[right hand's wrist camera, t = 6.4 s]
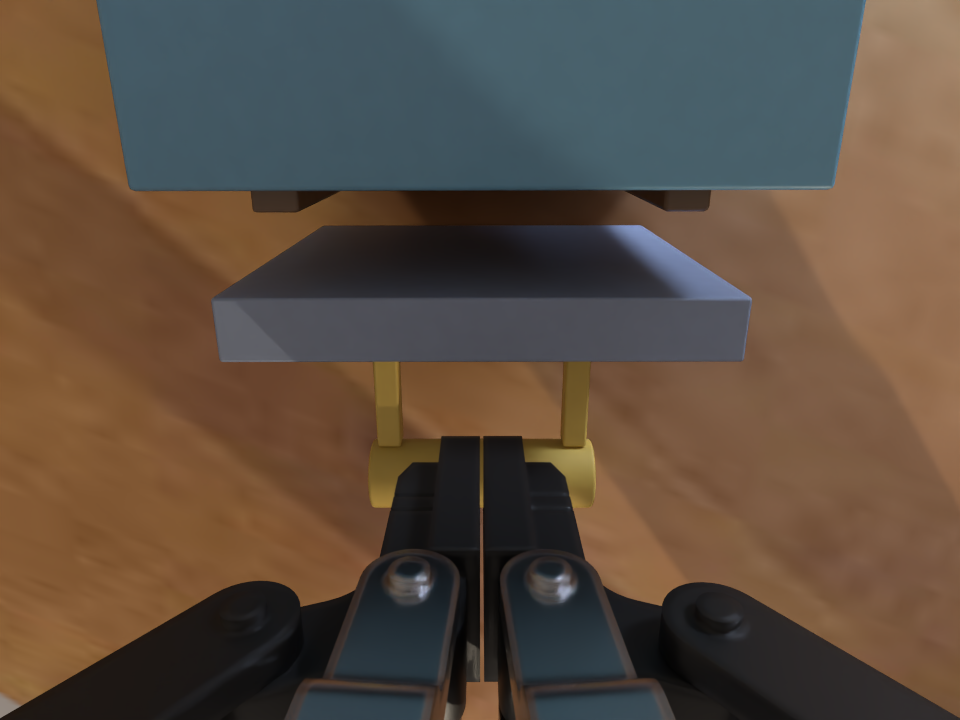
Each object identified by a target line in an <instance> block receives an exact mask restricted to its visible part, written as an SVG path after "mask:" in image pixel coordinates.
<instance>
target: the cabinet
mask: <svg viewBox="0 0 960 720" xmlns="http://www.w3.org/2000/svg"><path fill="white" fill-rule="evenodd" d="M96 1H97V7H98V13H99V18H100V24H101V30H102V36H103V41H104V47H105V53H106V58H107V64H108V70H109V76H110V81H111V87H112V93H113V98H114V104H115V110H116V116H117V121H118V127H119V133H120V138H121V144H122V150H123V156H124V161H125V167H126V173H127V178H128V184H129V187H130V189H132V190H134V191H446V190H828V189H830V188H833V186H834V183H835V177H836V171H837V165H838V159H839V154H840V148H841V142H842V136H843V130H844V125H845V119H846V113H847V107H848V101H849V95H850V90H851V84H852V78H853V72H854V66H855V60H856V55H857V49H858V43H859V37H860V31H861V25H862V20H863V14H864V8H865V2H866V0H96Z"/></svg>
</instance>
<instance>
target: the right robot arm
mask: <svg viewBox="0 0 960 720" xmlns="http://www.w3.org/2000/svg"><path fill="white" fill-rule="evenodd" d="M483 572H484V682H498V696H499V718H498V720H960V718H958V717H957V716H955V715H953V714H952V713H950V712H948V711H946V710H945V709H943V708H941V707H939V706H938V705H936V704H934V703H933V702H931V701H929V700H927V699H926V698H924V697H922V696H921V695H919V694H917V693H915V692H914V691H912V690H910V689H908V688H907V687H905V686H903V685H902V684H900V683H898V682H896V681H895V680H893V679H891V678H890V677H888V676H886V675H884V674H883V673H881V672H879V671H878V670H876V669H874V668H872V667H871V666H869V665H867V664H865V663H864V662H862V661H860V660H859V659H857V658H855V657H853V656H852V655H850V654H848V653H847V652H845V651H843V650H841V649H840V648H838V647H836V646H834V645H833V644H831V643H829V642H828V641H826V640H824V639H822V638H821V637H819V636H817V635H816V634H814V633H812V632H810V631H809V630H807V629H805V628H804V627H802V626H800V625H798V624H797V623H795V622H793V621H791V620H790V619H788V618H786V617H785V616H783V615H781V614H779V613H778V612H776V611H774V610H773V609H771V608H769V607H767V606H766V605H764V604H762V603H760V602H759V601H757V600H755V599H754V598H752V597H750V596H748V595H747V594H745V593H743V592H741V591H738V590H736V589H733V588H731V587H728V586H724V585H720V584H715V583H705V582H698V583H689V584H684V585H681V586H679V587H677V588H675V589H673V590H672V591H671V592H669V593H668V594H667V596H666V597H665V599H664V601H663V604H662V606H658V605H654V604H650V603H645V602H641V601H637V600H633V599H630V598H626V597H624V596H621V595H619V594H617V593H615V592H613V591H611V590H609V589H607V588H606V587H604V586H603V585H602V582H601V579H600V577H599V575H598V573H597V571H596V570H595V569H594V567H593V566H592V565H591V564H589V563H588V562H587V561H585V557H584V553H583V549H582V544H581V540H580V536H579V532H578V528H577V523H576V519H575V515H574V511H573V506H572V502H571V498H570V497H569V490H568V485H567V481H566V477H565V476H564V475H563V474H562V473H561V472H560V471H559V470H558V469H557V468H556V467H555V466H554V465H553V464H552V463H551V462H525V456H524V448H523V441H522V436H483ZM466 682H480V436H442V437H441V444H440V452H439V461H438V462H412V463H411V464H410V465H409V466H408V467H407V468H406V469H405V470H404V471H403V472H402V473H401V474H400V475H399V476H398V479H397V484H396V488H395V493H394V497H393V501H392V506H391V511H390V515H389V519H388V523H387V528H386V532H385V536H384V541H383V545H382V550H381V554H380V557H379V558H378V559H376V560H375V561H373V562H372V563H371V564H369V565H368V566H367V567H366V569H365V570H364V571H363V573H362V575H361V577H360V579H359V582H358V585H357V587H356V590H354V591H352V592H351V593H349V594H347V595H344V596H342V597H339V598H336V599H332V600H329V601H325V602H320V603H316V604H312V605H307V606H303V607H300V601H299V599H298V596H297V595H296V594H295V592H294V591H292V590H291V589H290V588H288V587H287V586H285V585H282V584H279V583H276V582H270V581H252V582H245V583H240V584H237V585H233V586H230V587H228V588H225V589H223V590H221V591H219V592H217V593H215V594H213V595H212V596H210V597H208V598H206V599H205V600H203V601H201V602H200V603H198V604H196V605H194V606H193V607H191V608H189V609H187V610H186V611H184V612H182V613H181V614H179V615H177V616H175V617H174V618H172V619H170V620H169V621H167V622H165V623H163V624H162V625H160V626H158V627H157V628H155V629H153V630H151V631H150V632H148V633H146V634H144V635H143V636H141V637H139V638H138V639H136V640H134V641H132V642H131V643H129V644H127V645H126V646H124V647H122V648H120V649H119V650H117V651H115V652H113V653H112V654H110V655H108V656H107V657H105V658H103V659H101V660H100V661H98V662H96V663H95V664H93V665H91V666H89V667H88V668H86V669H84V670H83V671H81V672H79V673H77V674H76V675H74V676H72V677H70V678H69V679H67V680H65V681H64V682H62V683H60V684H58V685H57V686H55V687H53V688H52V689H50V690H48V691H46V692H45V693H43V694H41V695H39V696H38V697H36V698H34V699H33V700H31V701H29V702H27V703H26V704H24V705H22V706H21V707H19V708H17V709H15V710H14V711H12V712H10V713H9V714H7V715H5V716H3V717H2V718H0V720H462V718H461V717H462V715H463V712H464V709H465V704H466Z"/></svg>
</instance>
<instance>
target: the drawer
mask: <svg viewBox="0 0 960 720" xmlns="http://www.w3.org/2000/svg"><path fill="white" fill-rule="evenodd" d="M624 191H626V192H628V193H630V194H632V195H634V196H636V197H638V198H640V199H642V200H645V201H647V202H649V203H651V204H653V205H655V206H657V207H659V208H661V209H663V210H665V211H705V210H708V208H709V204H710V195H711V190H624ZM338 192H340V191H251V197H252V206H253V210H254V212H298V211H301V210H303V209H305V208H307V207H309V206H311V205H313V204H315V203H317V202H319V201H321V200H323V199H325V198H327V197H329V196H331V195H333V194H336V193H338ZM211 303H212V310H213V317H214V324H215V331H216V338H217V345H218V352H219V359H220V361H222V362H373V373H374V389H375V406H376V422H377V439H375V440H374V441H373V443H372V446H371V450H370V456H369V467H368V489H369V498H370V502H371V505H372V506H373V507H376V508H391V506H392V501H393V497H394V493H395V488H396V484H397V479H398V476H399V475H400V474H401V473H402V472H403V471H404V470H405V469H406V468H407V467H408V466H409V465H410V464H411V463H412V462H438V461H439V452H440V444H441V439H403V416H402V395H401V373H400V362H564V365H563V389H562V413H561V439H522V441H523V448H524V456H525V462H551V463H552V464H553V465H554V466H555V467H556V468H557V469H558V470H559V471H560V472H561V473H562V474H563V475H564V476H565V477H566V481H567V485H568V490H569V497H570V498H571V502H572V506H573V508H589V507H591V506H592V505H593V502H594V497H595V487H596V469H595V457H594V450H593V446H592V443H591V441H590V440H589V439H586V436H587V418H588V401H589V383H590V366H591V362H664V361H743V359H744V353H745V346H746V339H747V332H748V325H749V317H750V310H751V303H752V299H751V297H749V296H748V295H746V294H745V293H743V292H742V291H740V290H739V289H737V288H736V287H734V286H732V285H731V284H729V283H728V282H726V281H725V280H723V279H722V278H720V277H719V276H717V275H716V274H714V273H713V272H711V271H710V270H708V269H707V268H705V267H704V266H702V265H701V264H699V263H697V262H696V261H694V260H693V259H691V258H690V257H688V256H687V255H685V254H684V253H682V252H681V251H679V250H678V249H676V248H675V247H673V246H672V245H670V244H669V243H667V242H666V241H664V240H662V239H661V238H659V237H658V236H656V235H655V234H653V233H652V232H650V231H649V230H647V229H646V228H644V227H643V226H641V225H506V226H322V227H321V228H319V229H318V230H316V231H315V232H313V233H312V234H310V235H309V236H307V237H305V238H304V239H302V240H301V241H299V242H298V243H296V244H295V245H293V246H292V247H290V248H289V249H287V250H286V251H284V252H282V253H281V254H279V255H278V256H276V257H275V258H273V259H272V260H270V261H269V262H267V263H266V264H264V265H263V266H261V267H259V268H258V269H256V270H255V271H253V272H252V273H250V274H249V275H247V276H246V277H244V278H243V279H241V280H239V281H238V282H236V283H235V284H233V285H232V286H230V287H229V288H227V289H226V290H224V291H223V292H221V293H220V294H218V295H216V296H215V297H213V298H212V300H211ZM480 508H483V439H480Z"/></svg>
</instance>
